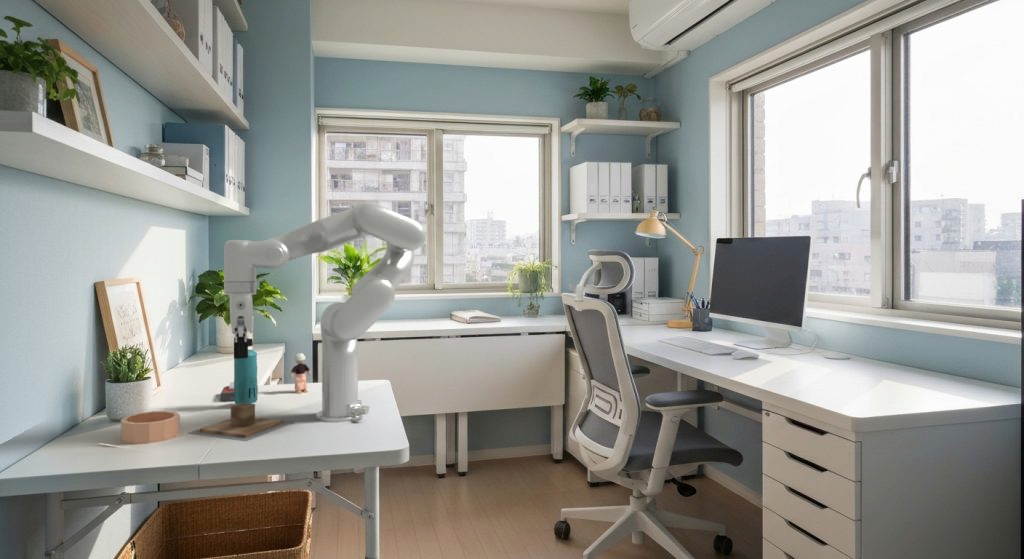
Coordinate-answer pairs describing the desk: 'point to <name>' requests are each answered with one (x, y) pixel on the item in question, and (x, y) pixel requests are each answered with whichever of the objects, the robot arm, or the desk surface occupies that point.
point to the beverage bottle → (246, 377)
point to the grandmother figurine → (300, 374)
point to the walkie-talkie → (227, 393)
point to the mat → (197, 432)
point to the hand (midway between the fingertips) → (240, 355)
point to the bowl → (150, 427)
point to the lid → (242, 422)
